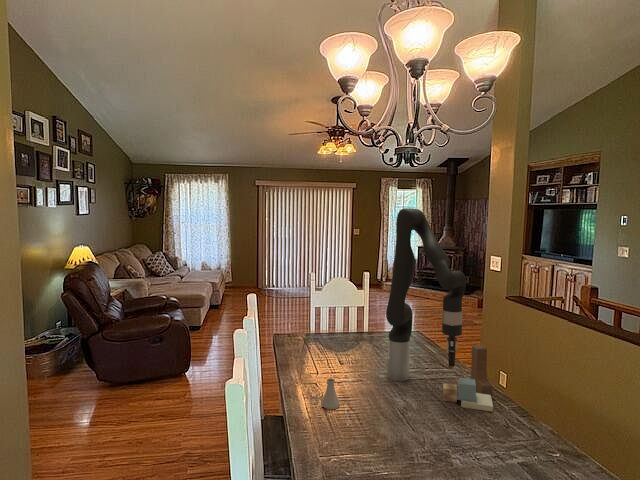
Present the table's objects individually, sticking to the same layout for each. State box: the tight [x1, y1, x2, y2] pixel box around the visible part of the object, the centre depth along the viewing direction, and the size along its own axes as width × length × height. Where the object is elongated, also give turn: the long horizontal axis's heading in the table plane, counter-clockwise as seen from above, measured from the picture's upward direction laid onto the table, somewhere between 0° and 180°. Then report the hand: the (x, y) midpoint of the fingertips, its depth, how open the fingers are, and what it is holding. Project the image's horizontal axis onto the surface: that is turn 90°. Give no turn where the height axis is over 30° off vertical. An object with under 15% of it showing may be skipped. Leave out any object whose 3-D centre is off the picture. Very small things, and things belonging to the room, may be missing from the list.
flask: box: [321, 377, 341, 410], centre depth 150 cm, size 7×7×10 cm
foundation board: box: [457, 391, 494, 413], centre depth 153 cm, size 13×10×2 cm
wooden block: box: [470, 344, 493, 396], centre depth 163 cm, size 9×4×18 cm, turn 8°
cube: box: [457, 377, 477, 401], centre depth 154 cm, size 6×6×6 cm
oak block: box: [442, 382, 458, 403], centre depth 157 cm, size 5×5×5 cm
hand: (451, 362), depth 156 cm, fingers open, 8 cm apart
